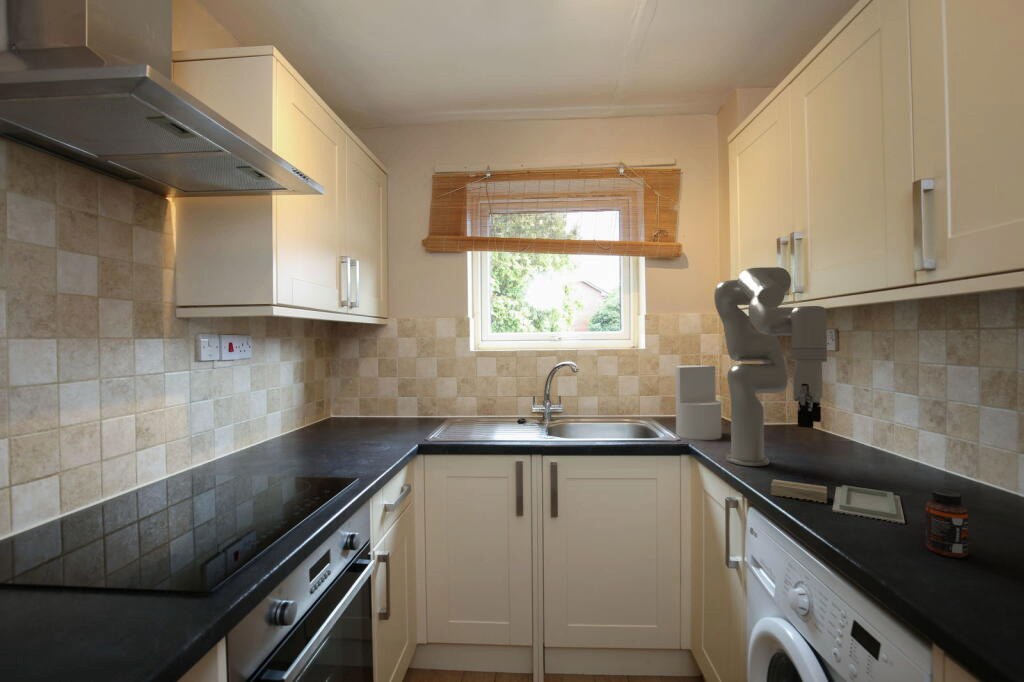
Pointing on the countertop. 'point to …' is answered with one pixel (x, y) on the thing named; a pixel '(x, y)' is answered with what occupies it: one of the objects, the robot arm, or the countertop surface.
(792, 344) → the robot arm
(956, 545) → the supplement bottle
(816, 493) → the birch tile
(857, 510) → the white flat rectangular tray
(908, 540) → the countertop surface
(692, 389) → the grey stepped piece
